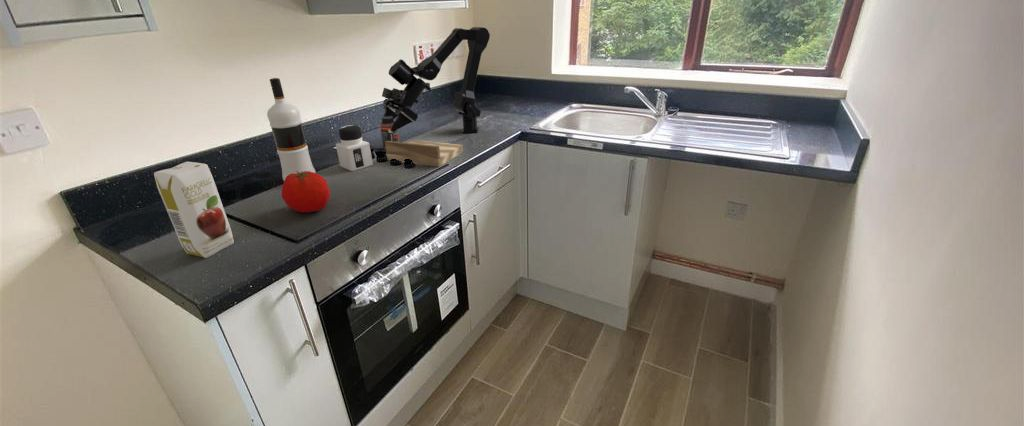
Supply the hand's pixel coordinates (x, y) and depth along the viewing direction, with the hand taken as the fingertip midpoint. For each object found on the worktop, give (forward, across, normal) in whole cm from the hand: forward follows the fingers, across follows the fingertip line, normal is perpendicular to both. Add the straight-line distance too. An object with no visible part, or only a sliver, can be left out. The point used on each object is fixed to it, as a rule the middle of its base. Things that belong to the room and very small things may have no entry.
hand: (386, 128), depth 158 cm
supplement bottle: (+5, 0, +6) cm, 7 cm away
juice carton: (+47, +44, -36) cm, 74 cm away
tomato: (+31, +37, -20) cm, 52 cm away
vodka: (+29, +12, -18) cm, 36 cm away
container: (+16, +11, -6) cm, 21 cm away
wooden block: (+1, +17, +10) cm, 20 cm away
